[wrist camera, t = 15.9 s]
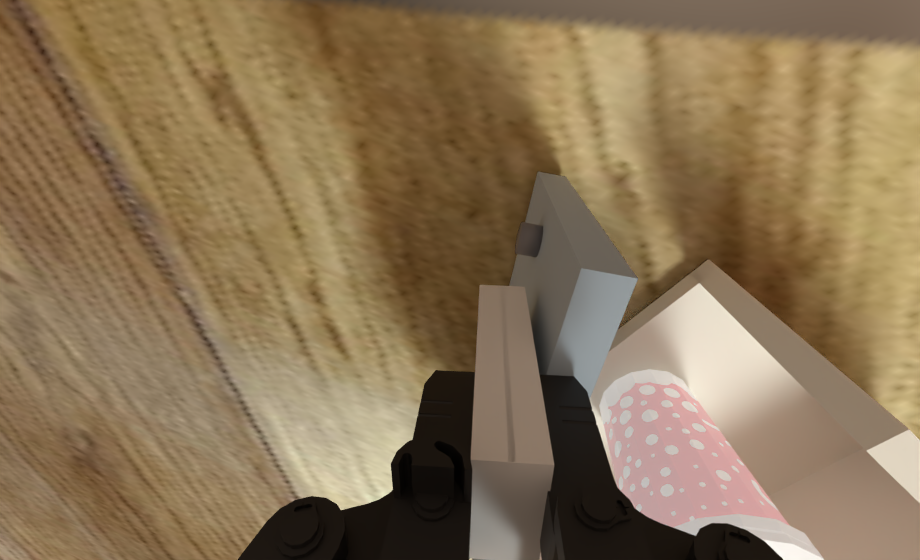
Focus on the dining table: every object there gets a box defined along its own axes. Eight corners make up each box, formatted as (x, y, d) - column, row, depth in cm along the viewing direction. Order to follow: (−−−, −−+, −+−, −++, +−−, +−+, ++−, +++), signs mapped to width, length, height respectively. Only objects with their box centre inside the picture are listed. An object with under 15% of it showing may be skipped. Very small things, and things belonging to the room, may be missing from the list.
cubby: (658, 545, 28) (744, 793, 18) (476, 414, 24) (463, 639, 14) (880, 432, 23) (1170, 699, 13) (690, 240, 19) (898, 413, 9)
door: (504, 407, 23) (510, 611, 14) (467, 400, 23) (450, 601, 14) (570, 177, 18) (647, 280, 9) (521, 168, 18) (548, 262, 9)
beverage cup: (697, 447, 23) (948, 906, 10) (582, 448, 23) (683, 879, 11) (717, 355, 20) (1088, 818, 8) (586, 358, 21) (727, 790, 8)
